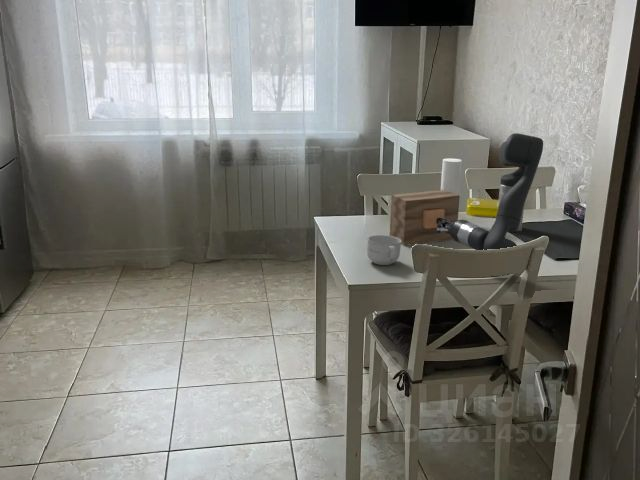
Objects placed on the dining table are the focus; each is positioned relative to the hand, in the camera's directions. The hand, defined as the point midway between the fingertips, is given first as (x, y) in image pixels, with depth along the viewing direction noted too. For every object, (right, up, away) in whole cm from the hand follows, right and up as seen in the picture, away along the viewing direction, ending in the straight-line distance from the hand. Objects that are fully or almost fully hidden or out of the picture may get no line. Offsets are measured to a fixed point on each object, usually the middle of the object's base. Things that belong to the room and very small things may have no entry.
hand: (438, 220), depth 216 cm
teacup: (-20, -15, -16) cm, 30 cm away
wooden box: (-4, -6, +11) cm, 13 cm away
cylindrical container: (+9, 0, +31) cm, 32 cm away
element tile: (+28, +4, +47) cm, 55 cm away
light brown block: (-2, -1, +6) cm, 7 cm away
